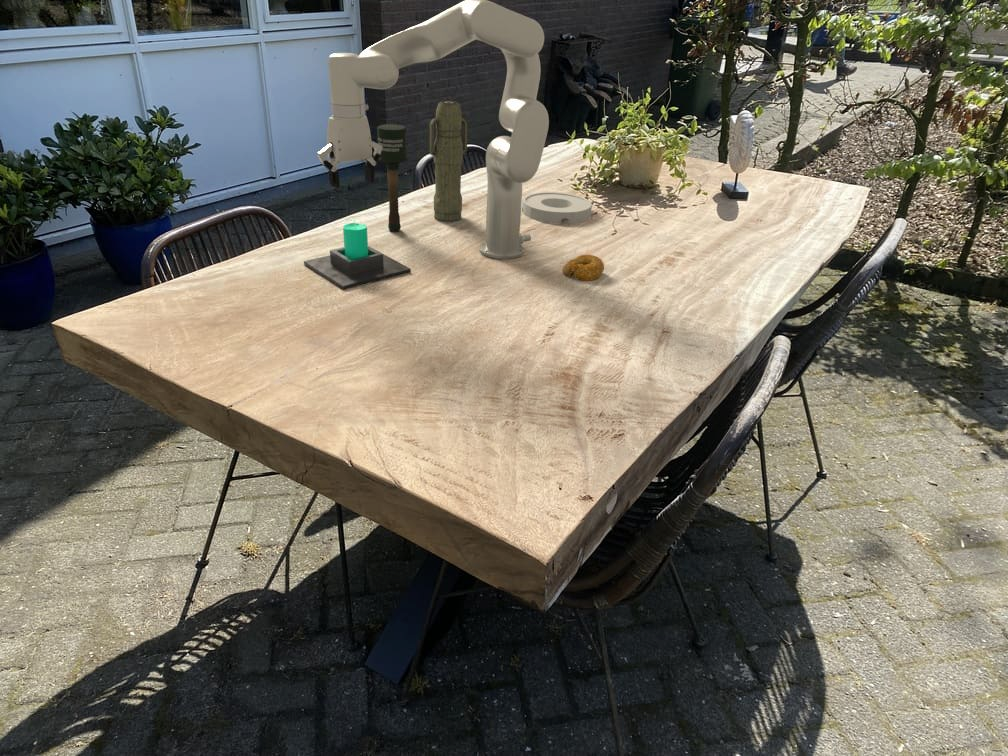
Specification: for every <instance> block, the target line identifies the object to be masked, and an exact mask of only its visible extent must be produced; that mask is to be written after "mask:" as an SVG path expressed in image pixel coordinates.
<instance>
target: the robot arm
mask: <svg viewBox="0 0 1008 756" xmlns="http://www.w3.org/2000/svg"><path fill="white" fill-rule="evenodd" d="M475 40H477V41H480V42H483V43H485V44H488V45H490V46H492V47H495V48H497V49H499V50H501V52H502V53H503V55H504V58H505V61H506V69H507V70H506V77H505V78H506V79H505V84H504V89H503V93H502V98H501V102H500V107H499V113H498V120H499V123H500V125H501V126H502V128H504V129H505V130H506V131H508V132H510V133H511V136H509V135H501V136H497V137H495V138H494V139H492V140H491V141H490V143H489V144H488V146H487V148H486V152H485V166H486V167H485V168H486V173H487V174H486V177H487V197H486V214H485V215H486V217H485V242H483V243H482V244H481V245H480V246H479V252H480V253H481V255H484V256H485V257H487V258H491V259H497V260H510V259H511V260H513V259H516V258H519V257H520V258H521V256H523V255H524V253H525V248H524V247H523V246H522V244H524V243H525V242H530V241H532V235H531V234H529V233H528V234H527V233H526V234H524V235H522V233H521V232H520V231H521V216H522V215H521V214H522V199H523V183H527V182H528V181H530V180H532V179H533V177H534V176H535V175H536V174H537V172H538V171H539V170H538V169H539V166H540V164H541V160H542V157H543V154H544V153H543V152H544V148H545V143H546V139H547V137H548V136H547V135H548V131H549V126H550V125H549V124H550V120H549V119H550V118H549V113H548V110H547V109H546V106H545V105H544V104H543V103H541V102H540V101H539V100H537V97H538V96H537V95H538V91H539V85H540V80H541V70H542V69H541V61H540V55H539V53H540V51H542V49H543V46H544V43H545V33H544V29H543V27H542V26H541V24H540V23H539V22H538V21H536V20H535V19H533V18H531V17H528V16H525V15H523V14H521V13H518V12H516V11H514V10H511V9H508V8H506V7H504V6H502V5H500V4H498V3H495V2H493V1H490V0H462V1H460V2H458V3H457V4H456V5H453V6H452V7H449V8H448V9H446V10H444V11H442V12H440V13H438V14H437V15H435V16H433V17H431V18H428V20H425V21H423V22H422V23H419V24H416V25H414V26H411V27H409V28H407V29H405V30H402V31H400V32H397V33H395V34H393V35H390V36H388V37H386V38H384V39H382V40H380V41H378V42H376V43H374V44H373V45H371V46H368V47H367V48H366V49H364V50H362V52H360V54H356V53H354V52H335V53H331V54H330V55H329V56H328V60H327V61H328V77H329V90H330V91H329V92H330V102H331V103H330V104H331V116H330V117H328V120H327V121H328V122H327V129H326V131H327V132H326V146H324V147H323V148H322V149H321V150H320V151H318V152H317V153H316V156H317V158H318V159H319V161H320V164H321V165H322V166H324V168H326V169H327V170H328V181H329V184H330V186H331V187H333V188H336V189H340V187H341V186H340V173H339V171H337V170H338V168H339V167H340V165H341V164H344V163H352V162H358V161H364V162H365V163H364V166H363V167H364V180H365V181H367V182H369V183H371V184H372V183H375V177H376V176H375V167H376V165H377V162H378V159H379V157H380V154H381V151H382V148H383V147H382V146H381V145H379V144H378V142H375V141H373V140H372V135H371V129H370V125H369V120H368V117H367V116H366V115H365V114H366V111H368V110H369V109H370V108H369V105H368V104H365V97H364V96H365V95H364V88H366V89H367V88H368V89H373V90H375V89H376V90H387V89H390V88H392V87H393V86H394V85H395V84H396V83H397V82H398V79H399V76H400V75H399V72H400V71H399V70H400V69H402V68H405V67H406V66H410V65H414V64H419V63H428V62H429V63H430V62H433V61H438V60H441V59H442V58H444V57H446V56H448V55H450V54H451V53H454V52H455V51H457V50H459V49H460V48H462V47H464V46H466V45H468V44H469V43H471V42H473V41H475ZM373 150H374V151H373ZM327 157H328V159H329V161H328V159H327Z"/></svg>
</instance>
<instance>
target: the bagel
mask: <svg viewBox="0 0 1008 756" xmlns="http://www.w3.org/2000/svg"><path fill="white" fill-rule="evenodd" d="M604 270H605V265H604V262H603V260H602V259H601V258H600V257H598V256H597V255H594V254H580V255H579V256H576V257H575V258H573V259H570V260H569V261H567V262H566V263H565V265H564V266H563V267H562V272H563V273H564V274H565V275H566V276H568V277H573V278H575V279H577V280H580V281H586V282H587V281H595V280H597V279H598V278H600V277H601V276H602V274H603V273H604Z"/></svg>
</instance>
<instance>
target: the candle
mask: <svg viewBox="0 0 1008 756" xmlns="http://www.w3.org/2000/svg"><path fill="white" fill-rule="evenodd" d="M342 229H343V230H342V231H343V244H344V245H343V247H344V248H345V256H346V257H348V258H349V259H351V260H352V259H356V258H360V257H365V256H368V246H369V239H368V227H367V225H366V224H365V223H359V222H356V220H354V221H353V222H350V223H346V224H345V225H343V228H342Z"/></svg>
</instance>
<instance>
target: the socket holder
mask: <svg viewBox="0 0 1008 756" xmlns="http://www.w3.org/2000/svg"><path fill="white" fill-rule="evenodd" d="M303 265H304V266H306V267H307V268H308V269H310V270H312V271H313V272H315V273H317V275H319V276H321V277H323V278H324V279H326V280H327V281H329V282H331V283H332V284H334V285H335V286H336V287H338V288H340V289H341V290H343V291H344V290H349V289H352V288H356V287H358V286H359V287H360V286H364V285H367V284H371V283H376V282H379V281H383V280H387V279H390V278H394V277H397V276H402V275H406V274H410V273H411V272H412V268H410V267H408V266H406V265H404V264H402V263H401V262H399V261H397V260H395V259H394V258H392V257H390V256H388V255H386V254H385V253H382V252H380V251H379V250H376V249H374V248H373V247H371V246H369V245H368V256H365V257H360V258H356V259H352V260H351V259H349V258H348V257H346V256H345V248H344V246H343V247H340V248H334V249H330V250H329V255H326V256H322V257H316V258H311V259H307V260H304V261H303Z"/></svg>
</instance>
